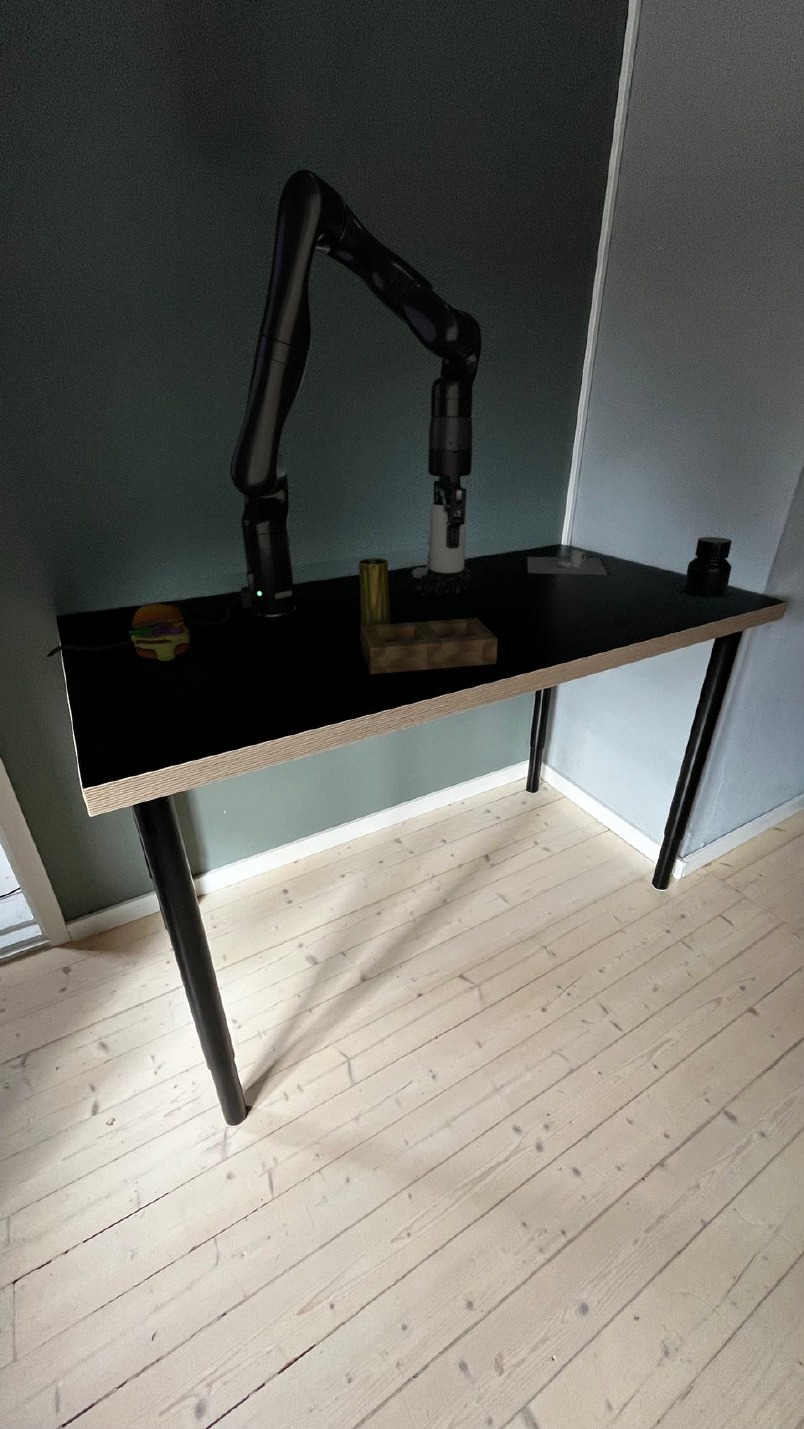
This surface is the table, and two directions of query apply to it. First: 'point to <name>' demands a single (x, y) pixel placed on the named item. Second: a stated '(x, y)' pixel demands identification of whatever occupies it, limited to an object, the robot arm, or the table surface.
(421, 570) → the sitting furry creature
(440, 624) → the holder
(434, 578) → the fruit
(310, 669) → the table surface
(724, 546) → the ink bottle
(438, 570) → the can
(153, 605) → the cheeseburger
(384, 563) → the vase
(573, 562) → the teacup and saucer
